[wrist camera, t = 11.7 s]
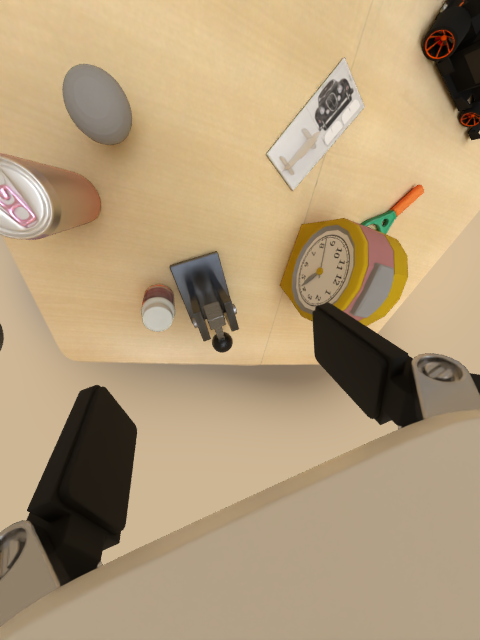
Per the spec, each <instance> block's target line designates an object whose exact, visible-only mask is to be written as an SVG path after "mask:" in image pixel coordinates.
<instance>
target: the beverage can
mask: <svg viewBox="0 0 480 640" xmlns="http://www.w3.org/2000/svg"><path fill="white" fill-rule="evenodd" d="M100 208H101V202H100V198H99V195H98V193H97V191H96V189H95V188H94V186H93V185H92V184H91V183H90V182H89V181H88V180H87V179H86V178H84V177H83V176H81V175H79V174H77V173H75V172H71V171H67V170H64V169H60V168H56V167H52V166H49V165H45V164H41V163H37V162H34V161H30V160H26V159H22V158H18V157H15V156H11V155H7V154H2V153H0V235H2V236H5V237H9V238H14V239H26V240H34V239H41V238H44V237H47V236H50V235H53V234H56V233H59V232H62V231H65V230H68V229H71V228H74V227H77V226H80V225H83V224H86V223H89V222H91V221H93V220H94V219H95V218H96V217H97V216H98V214H99V212H100Z"/></svg>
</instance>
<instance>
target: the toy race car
mask: <svg viewBox="0 0 480 640" xmlns="http://www.w3.org/2000/svg"><path fill="white" fill-rule="evenodd" d="M423 52H424V54H425V56H426V57H427V58H428V59H430V60H433V61H438V63H437V66H438V68H439V71H440V73H441V75H442V77H443V79H444V81H445V83H446V86H447V88H448V90H449V92H450V94H451V96H452V98H453V101H454V103H455V105H456V107H457V109H458V111H461V110H465V111H464V112H463V113H462V115H461V116H460V118H459V122H460V123H461V124H462V125H463V126H465V127H472V128H471V129H470V131H469V132H468V134H469V136H470V138H471V140H475V139H480V134H479V133H478V132H479V131H480V0H447V2H446V3H445V4H444V5H443V6H442V8H441V11H440V13H439V14H438V16H437V18H436V21H435V23H434V24H433V26H432V27H431V29H430V31H429V32H428V34H427V35H426V37H425V39H424V41H423ZM471 95H473V98H474V100H475V102H472V103H471V104H469V103H468V102H467V100H468V99H469V97H470V96H471Z"/></svg>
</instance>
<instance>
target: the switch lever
mask: <svg viewBox="0 0 480 640" xmlns="http://www.w3.org/2000/svg"><path fill="white" fill-rule="evenodd" d="M203 309H204V312H205V315H206V317H207V320H208V323H209V326H210V329H211V330H212V329H215V332H216V335H215V336H214V337H213V339H212V345H213V347H214V349H215V350H216V351H218V352H226V351H228V350H229V349H230V348H231V347H232V343H233V341H232V338H231V336H230V335H229V334H228V333H226V332H223V329H222V326H224V325H226V323H225V318H224V314H223V312H222V309H221V306H220V304H219V302H218V301H217V302H214V303H211V304H208V305H205V306H203Z"/></svg>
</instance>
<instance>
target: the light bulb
mask: <svg viewBox="0 0 480 640" xmlns="http://www.w3.org/2000/svg"><path fill="white" fill-rule="evenodd" d="M63 98H64V103H65V106H66V109H67V111H68V113H69V115H70V117H71V119H72V120H73V122H74V123H75V124H76V126H77V127H78V128H79V129H80V130H81V131H82V132H83V133H84V134H85V135H87V136H88V137H89V138H91V139H92V140H94V141H96V142H98V143H101V144H105V145H114V144H118V143H120V142H122V141H123V140H124V139H125V138H126V137H127V136H128V134H129V132H130V129H131V125H132V113H131V108H130V105H129V102H128V99H127V97H126V95H125V93H124V91H123V90H122V88H121V87H120V85H119V84H118V82H117V81H116V80H115V79H114V78H113V77H112V76H111V75H110V74H108V73H107V72H106V71H104V70H103V69H101V68H99V67H96V66H93V65H89V64H79V65H76V66H74V67H72V68H71V69H70V70H69V71H68V72H67V74H66V76H65V78H64V82H63Z"/></svg>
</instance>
